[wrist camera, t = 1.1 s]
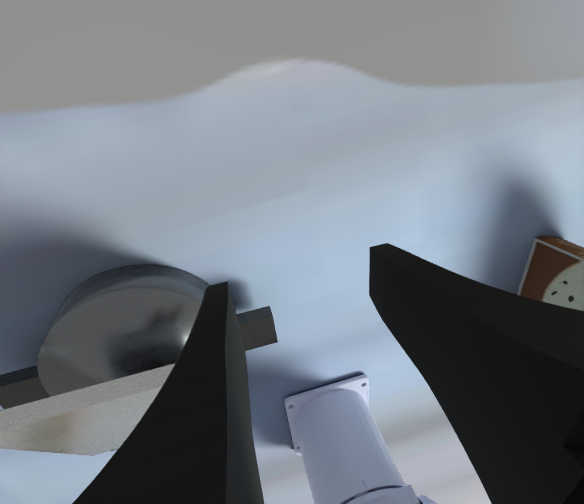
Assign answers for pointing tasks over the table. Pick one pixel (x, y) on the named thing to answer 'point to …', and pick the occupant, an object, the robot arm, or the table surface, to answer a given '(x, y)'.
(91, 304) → the pot
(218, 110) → the table surface
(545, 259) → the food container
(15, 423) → the lid
